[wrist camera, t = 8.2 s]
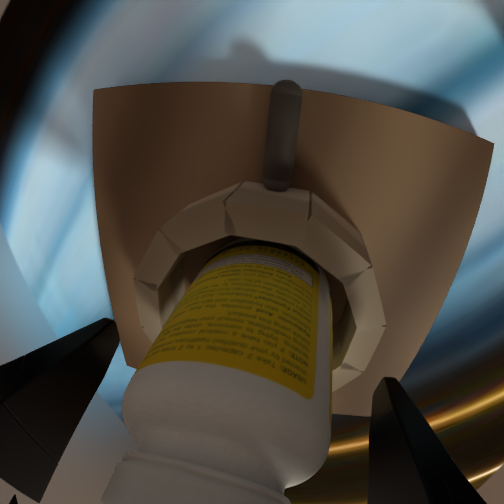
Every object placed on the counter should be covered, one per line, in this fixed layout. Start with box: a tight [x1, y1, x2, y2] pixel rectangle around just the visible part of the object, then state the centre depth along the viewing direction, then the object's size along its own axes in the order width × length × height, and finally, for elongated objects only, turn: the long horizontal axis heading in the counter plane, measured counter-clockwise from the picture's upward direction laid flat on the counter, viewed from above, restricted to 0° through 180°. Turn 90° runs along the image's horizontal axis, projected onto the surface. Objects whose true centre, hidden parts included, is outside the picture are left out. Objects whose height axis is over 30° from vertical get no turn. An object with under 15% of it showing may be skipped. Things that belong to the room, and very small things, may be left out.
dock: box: [93, 80, 494, 416], centre depth 12 cm, size 16×16×4 cm
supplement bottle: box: [101, 237, 333, 504], centre depth 8 cm, size 5×5×10 cm
